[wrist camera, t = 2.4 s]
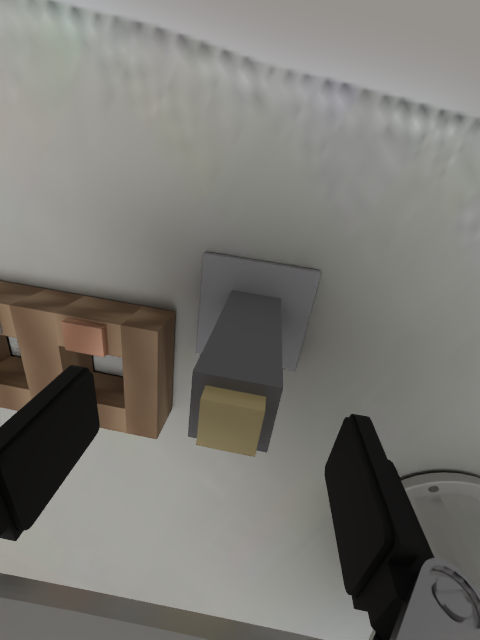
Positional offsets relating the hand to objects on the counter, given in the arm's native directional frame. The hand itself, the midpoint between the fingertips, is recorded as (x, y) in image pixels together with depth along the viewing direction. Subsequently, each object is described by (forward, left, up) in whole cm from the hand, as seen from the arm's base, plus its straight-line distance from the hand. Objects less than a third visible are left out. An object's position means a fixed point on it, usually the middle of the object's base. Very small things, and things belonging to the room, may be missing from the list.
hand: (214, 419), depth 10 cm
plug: (-1, +1, -11) cm, 11 cm away
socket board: (+14, +7, -12) cm, 20 cm away
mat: (-1, +1, -12) cm, 12 cm away
